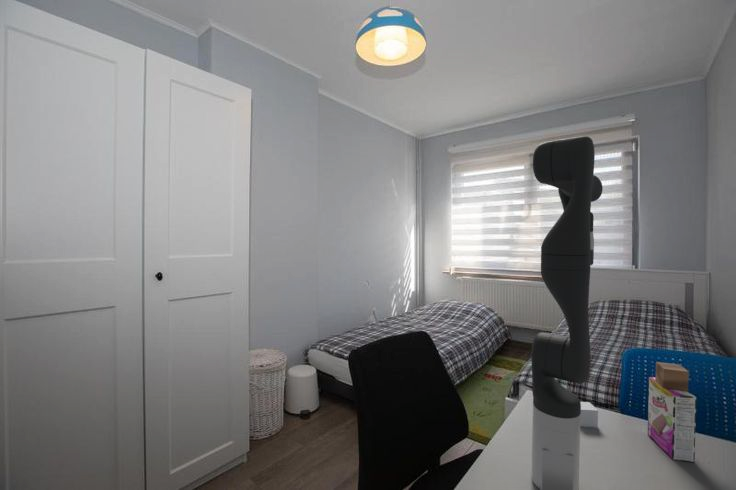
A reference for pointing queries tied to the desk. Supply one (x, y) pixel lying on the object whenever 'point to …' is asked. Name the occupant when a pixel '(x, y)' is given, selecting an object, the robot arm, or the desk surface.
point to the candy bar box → (672, 421)
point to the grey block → (588, 415)
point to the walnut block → (672, 376)
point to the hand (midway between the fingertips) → (576, 304)
